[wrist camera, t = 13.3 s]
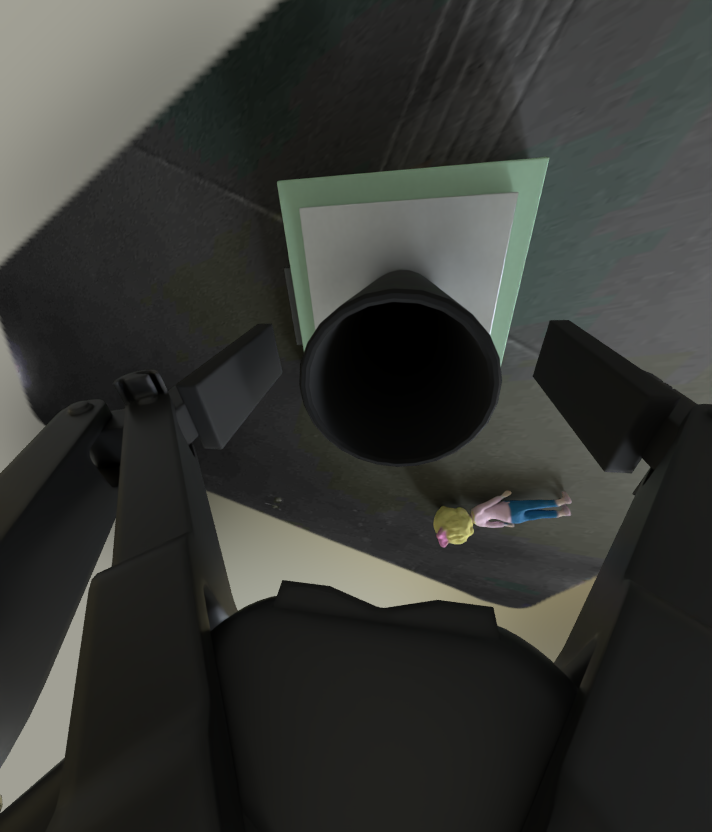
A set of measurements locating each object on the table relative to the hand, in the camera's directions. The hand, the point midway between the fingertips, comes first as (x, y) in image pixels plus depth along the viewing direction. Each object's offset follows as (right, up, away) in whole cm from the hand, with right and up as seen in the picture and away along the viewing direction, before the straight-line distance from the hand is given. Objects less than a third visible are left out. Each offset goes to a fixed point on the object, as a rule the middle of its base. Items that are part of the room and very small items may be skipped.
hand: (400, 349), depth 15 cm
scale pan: (+1, +5, +7) cm, 9 cm away
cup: (+1, +4, +7) cm, 8 cm away
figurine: (+15, -14, +21) cm, 29 cm away
